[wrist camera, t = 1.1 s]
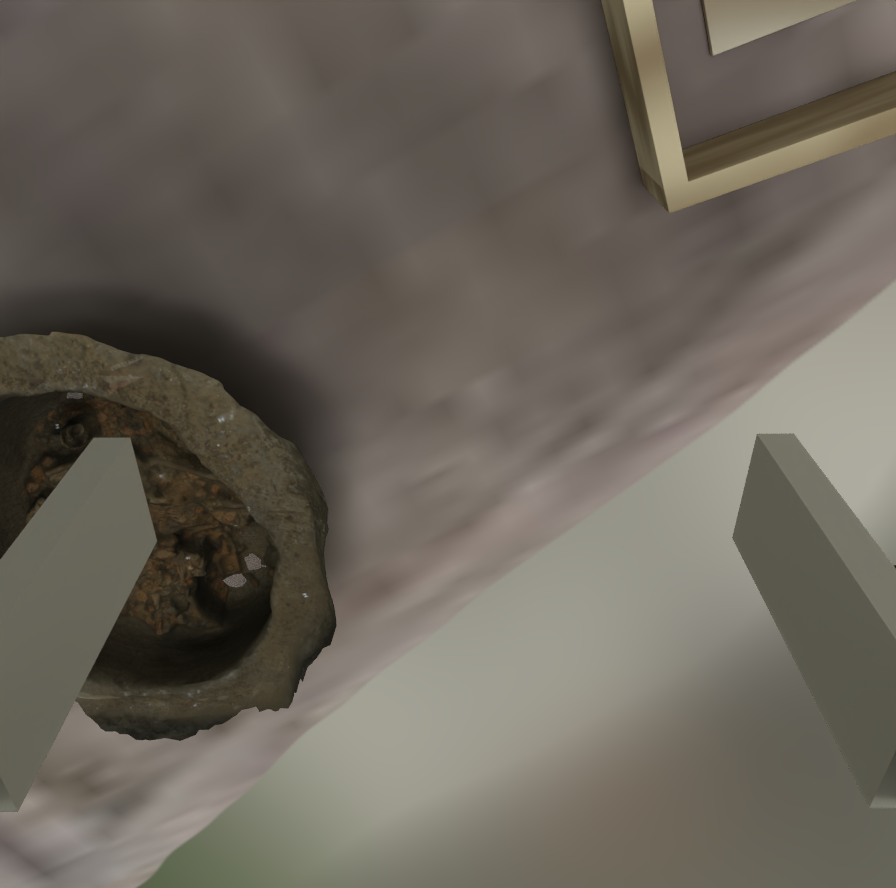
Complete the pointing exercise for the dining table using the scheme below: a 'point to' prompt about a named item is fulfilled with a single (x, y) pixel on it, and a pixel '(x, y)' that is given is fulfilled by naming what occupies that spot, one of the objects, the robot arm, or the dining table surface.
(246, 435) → the stone bowl
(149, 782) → the dining table surface
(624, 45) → the arena
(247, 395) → the dining table surface
